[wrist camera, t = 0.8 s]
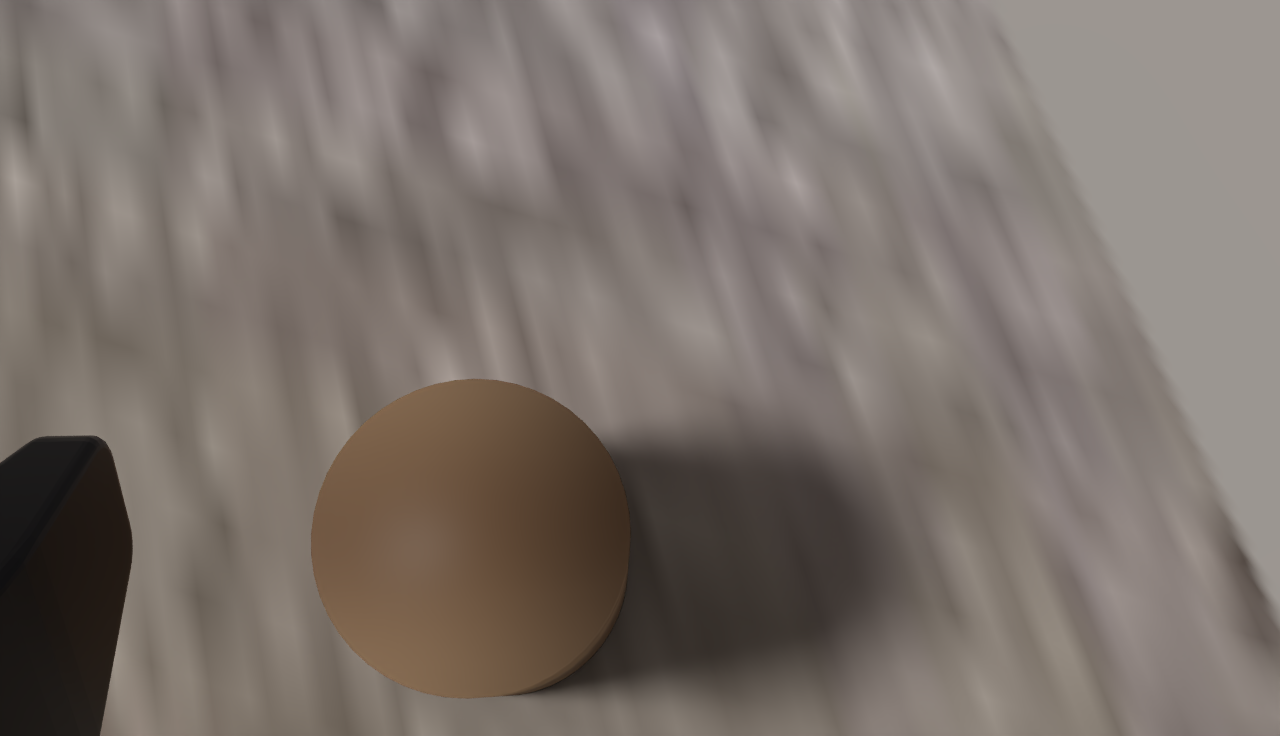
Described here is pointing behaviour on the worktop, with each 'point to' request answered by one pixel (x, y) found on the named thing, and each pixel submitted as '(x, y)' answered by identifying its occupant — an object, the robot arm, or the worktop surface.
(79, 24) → the worktop surface
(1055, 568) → the worktop surface
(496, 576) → the brown rounded cylinder
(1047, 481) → the worktop surface
